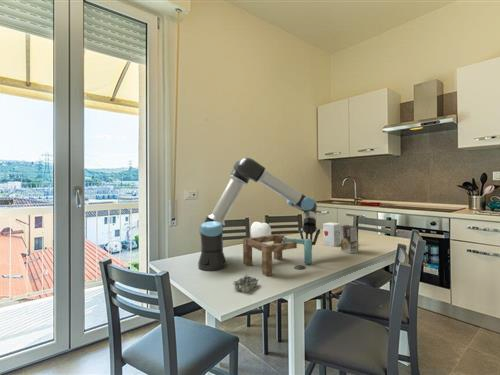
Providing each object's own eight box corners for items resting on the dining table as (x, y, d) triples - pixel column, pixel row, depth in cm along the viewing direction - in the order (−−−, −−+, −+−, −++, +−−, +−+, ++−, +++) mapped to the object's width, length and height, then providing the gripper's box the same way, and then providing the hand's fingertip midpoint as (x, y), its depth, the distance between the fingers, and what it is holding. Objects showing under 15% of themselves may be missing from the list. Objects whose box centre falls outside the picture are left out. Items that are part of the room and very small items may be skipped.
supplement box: (322, 244, 194) (322, 223, 194) (329, 242, 200) (329, 222, 200) (334, 246, 187) (333, 224, 187) (341, 244, 193) (340, 223, 193)
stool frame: (267, 276, 130) (266, 247, 130) (243, 263, 152) (242, 238, 152) (308, 268, 142) (307, 241, 142) (280, 257, 164) (280, 233, 164)
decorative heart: (275, 247, 188) (275, 222, 187) (263, 250, 181) (263, 224, 181) (258, 243, 202) (258, 220, 202) (247, 245, 195) (246, 221, 195)
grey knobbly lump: (245, 294, 111) (245, 284, 111) (231, 290, 116) (231, 280, 116) (260, 285, 120) (260, 276, 120) (246, 282, 124) (246, 273, 124)
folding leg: (282, 260, 153) (281, 238, 153) (284, 259, 157) (283, 236, 157) (311, 263, 147) (310, 240, 147) (312, 261, 151) (312, 238, 150)
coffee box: (358, 252, 171) (358, 226, 170) (350, 253, 168) (350, 227, 168) (348, 249, 179) (348, 224, 179) (340, 250, 177) (340, 225, 177)
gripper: (320, 224, 169) (320, 259, 153) (299, 223, 173) (296, 257, 157) (320, 217, 164) (320, 252, 148) (298, 216, 167) (295, 250, 152)
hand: (308, 254), depth 153 cm, fingers closed
